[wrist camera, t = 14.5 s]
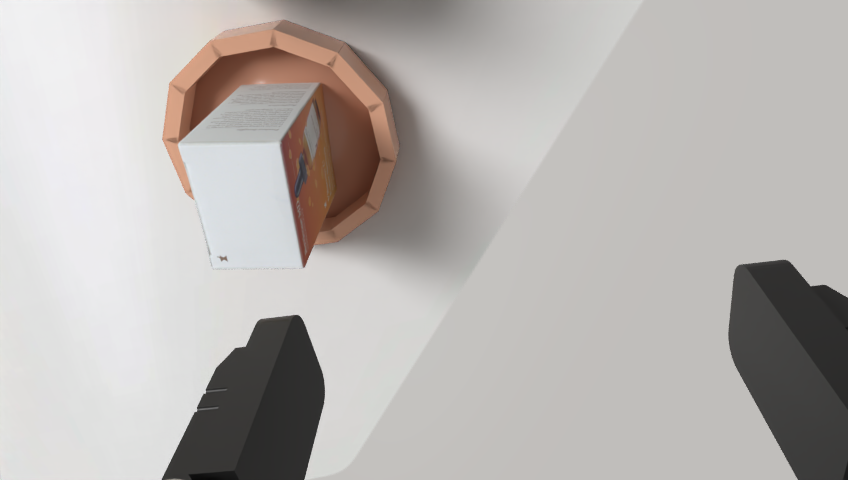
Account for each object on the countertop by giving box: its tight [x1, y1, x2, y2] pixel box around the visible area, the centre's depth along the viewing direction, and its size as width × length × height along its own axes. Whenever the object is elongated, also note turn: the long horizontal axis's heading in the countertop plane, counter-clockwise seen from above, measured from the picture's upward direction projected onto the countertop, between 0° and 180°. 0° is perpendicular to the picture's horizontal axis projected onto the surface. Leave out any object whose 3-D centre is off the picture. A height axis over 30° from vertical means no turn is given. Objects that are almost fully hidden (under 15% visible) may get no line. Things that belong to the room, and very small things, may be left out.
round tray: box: [162, 20, 400, 245], centre depth 41 cm, size 15×15×3 cm
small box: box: [178, 83, 337, 269], centre depth 37 cm, size 8×6×10 cm
